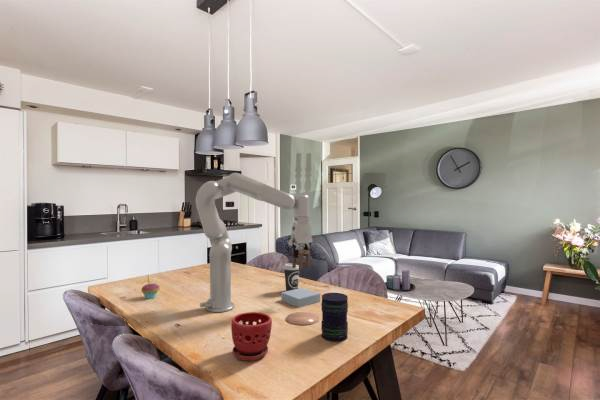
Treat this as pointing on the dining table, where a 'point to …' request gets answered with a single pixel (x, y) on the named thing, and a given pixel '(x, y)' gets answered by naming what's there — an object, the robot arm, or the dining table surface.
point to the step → (300, 297)
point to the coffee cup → (291, 276)
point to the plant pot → (251, 335)
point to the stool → (301, 259)
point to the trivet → (302, 318)
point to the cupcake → (150, 290)
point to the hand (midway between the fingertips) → (300, 256)
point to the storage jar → (334, 317)
